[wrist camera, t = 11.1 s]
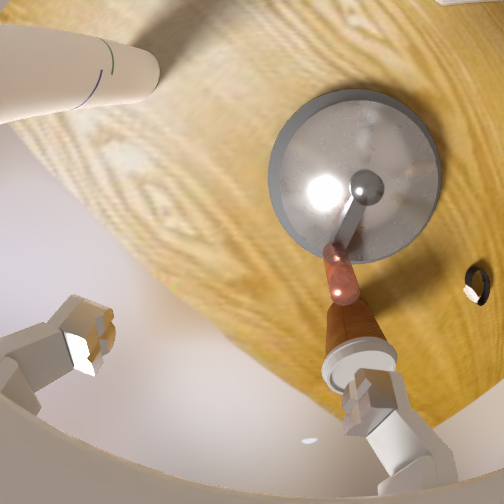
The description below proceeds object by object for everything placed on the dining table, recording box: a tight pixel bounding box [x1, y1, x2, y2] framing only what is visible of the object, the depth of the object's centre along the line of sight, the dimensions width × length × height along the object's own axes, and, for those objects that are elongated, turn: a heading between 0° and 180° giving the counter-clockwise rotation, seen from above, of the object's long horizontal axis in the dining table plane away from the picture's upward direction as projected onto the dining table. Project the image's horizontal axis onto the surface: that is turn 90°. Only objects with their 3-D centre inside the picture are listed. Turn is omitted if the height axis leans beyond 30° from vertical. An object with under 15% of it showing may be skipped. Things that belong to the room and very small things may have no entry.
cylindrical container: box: [0, 23, 160, 124], centre depth 19 cm, size 7×7×25 cm
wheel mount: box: [268, 89, 441, 264], centre depth 32 cm, size 21×21×2 cm
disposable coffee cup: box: [322, 297, 397, 395], centre depth 37 cm, size 10×10×12 cm
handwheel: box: [280, 100, 438, 306], centre depth 27 cm, size 19×18×10 cm
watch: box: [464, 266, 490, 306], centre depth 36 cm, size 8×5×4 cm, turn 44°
